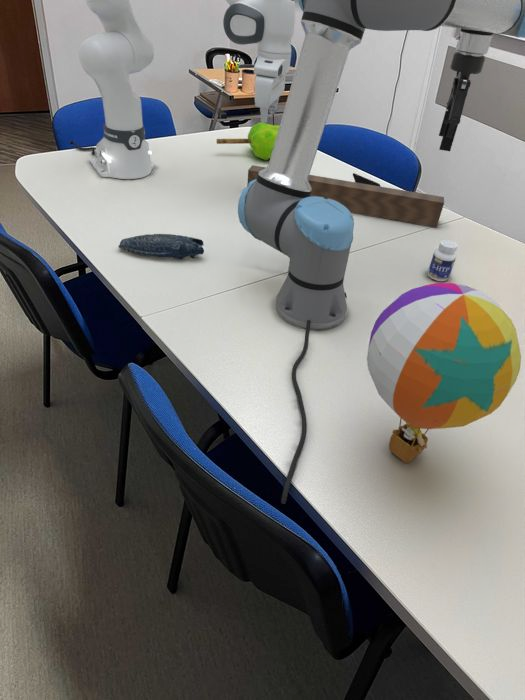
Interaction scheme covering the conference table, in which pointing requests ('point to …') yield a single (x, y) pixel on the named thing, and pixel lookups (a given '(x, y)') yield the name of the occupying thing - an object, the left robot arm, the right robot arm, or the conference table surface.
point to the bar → (374, 199)
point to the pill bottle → (442, 261)
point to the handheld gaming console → (364, 180)
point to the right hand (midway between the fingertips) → (444, 143)
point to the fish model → (163, 246)
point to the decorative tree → (258, 139)
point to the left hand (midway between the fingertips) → (268, 117)
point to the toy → (441, 360)
